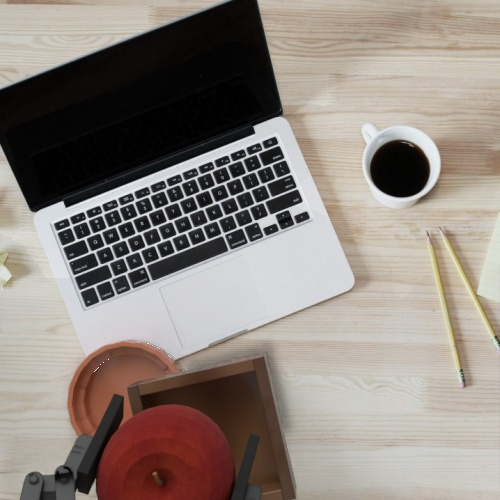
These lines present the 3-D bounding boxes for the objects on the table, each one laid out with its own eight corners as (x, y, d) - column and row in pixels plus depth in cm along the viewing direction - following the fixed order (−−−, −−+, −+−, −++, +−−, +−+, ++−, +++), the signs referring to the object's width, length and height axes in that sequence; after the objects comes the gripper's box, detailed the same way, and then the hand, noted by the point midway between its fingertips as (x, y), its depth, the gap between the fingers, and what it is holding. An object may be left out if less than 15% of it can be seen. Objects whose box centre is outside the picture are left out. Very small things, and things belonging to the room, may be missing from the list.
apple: (260, 494, 55) (251, 537, 45) (144, 535, 55) (110, 588, 45) (218, 376, 56) (200, 394, 46) (104, 418, 56) (62, 445, 46)
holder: (164, 514, 63) (155, 528, 59) (136, 381, 64) (126, 386, 60) (296, 486, 63) (296, 499, 59) (266, 352, 64) (263, 356, 60)
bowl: (88, 467, 88) (80, 473, 85) (65, 353, 89) (56, 356, 86) (200, 442, 87) (196, 448, 84) (175, 329, 88) (170, 330, 85)
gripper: (-139, 741, 39) (45, 412, 55) (251, 878, 37) (322, 495, 53) (-176, 699, 34) (39, 351, 50) (274, 855, 32) (345, 440, 48)
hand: (185, 425), depth 52 cm, fingers closed on apple, 9 cm apart
